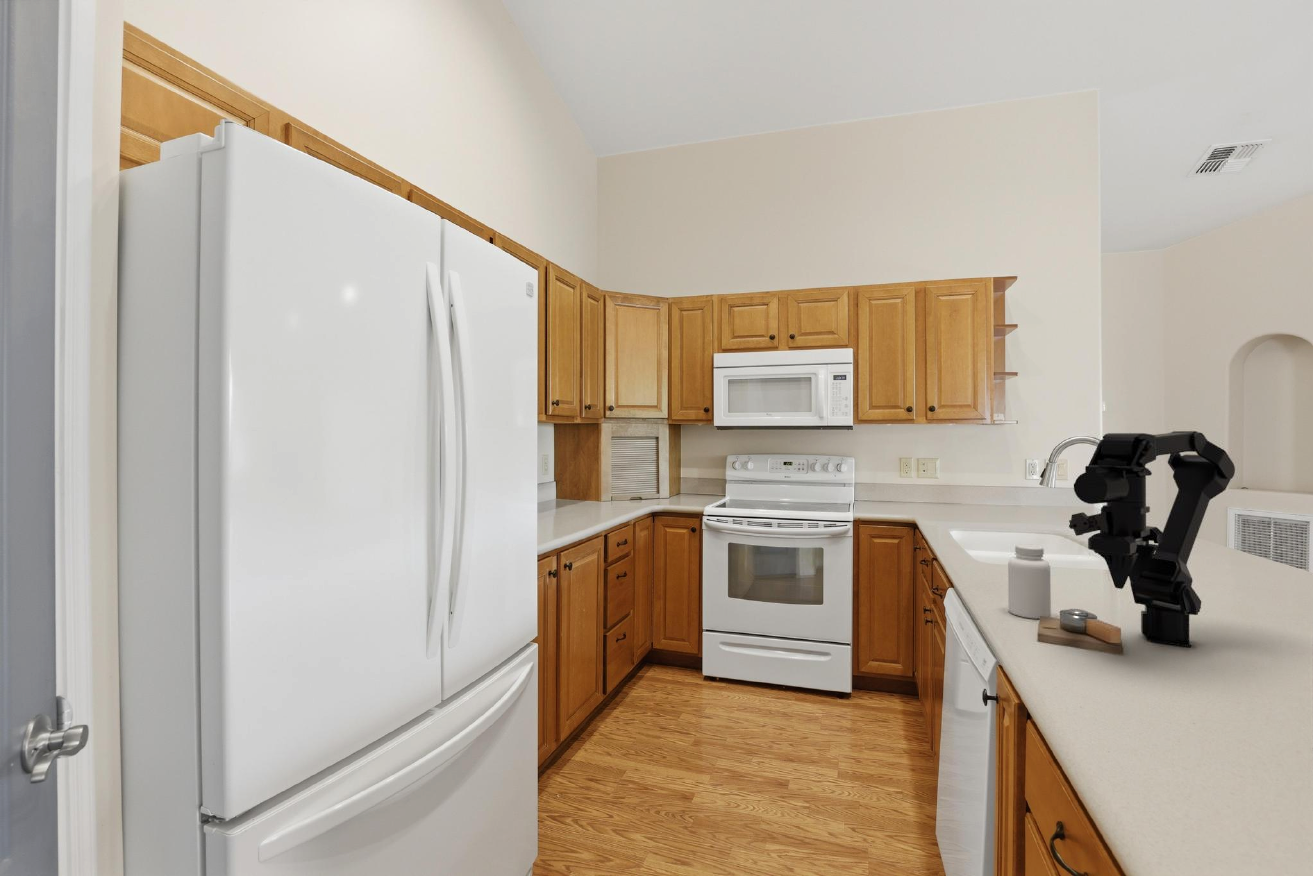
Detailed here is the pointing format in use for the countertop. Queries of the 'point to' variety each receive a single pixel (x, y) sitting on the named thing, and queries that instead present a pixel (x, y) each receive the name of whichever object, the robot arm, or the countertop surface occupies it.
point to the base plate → (1073, 637)
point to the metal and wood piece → (1089, 625)
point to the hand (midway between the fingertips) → (1126, 584)
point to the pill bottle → (1029, 583)
